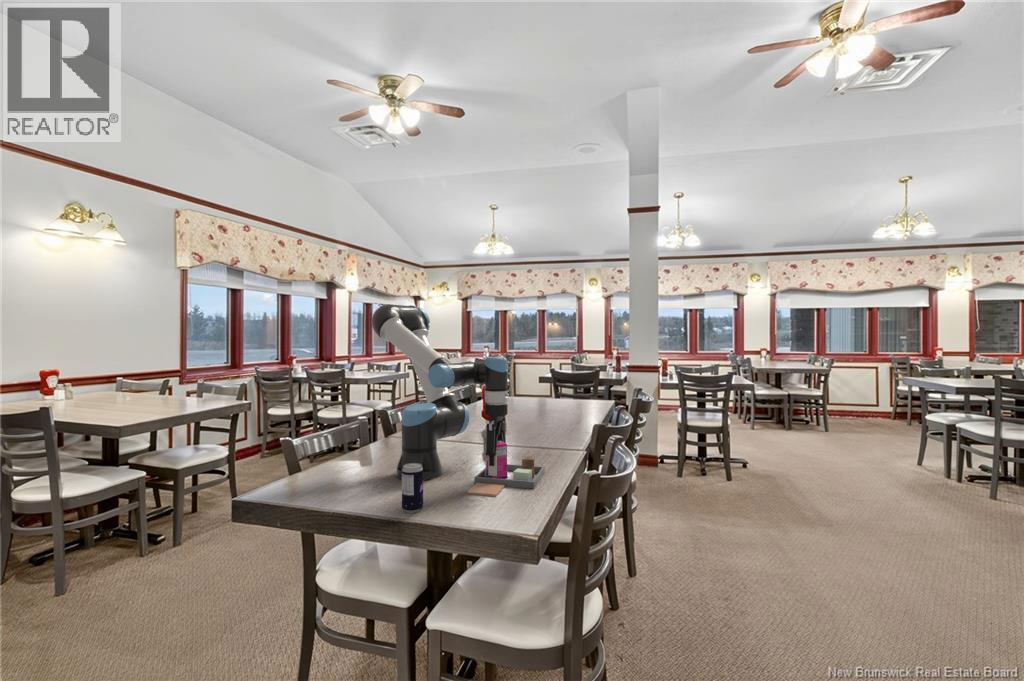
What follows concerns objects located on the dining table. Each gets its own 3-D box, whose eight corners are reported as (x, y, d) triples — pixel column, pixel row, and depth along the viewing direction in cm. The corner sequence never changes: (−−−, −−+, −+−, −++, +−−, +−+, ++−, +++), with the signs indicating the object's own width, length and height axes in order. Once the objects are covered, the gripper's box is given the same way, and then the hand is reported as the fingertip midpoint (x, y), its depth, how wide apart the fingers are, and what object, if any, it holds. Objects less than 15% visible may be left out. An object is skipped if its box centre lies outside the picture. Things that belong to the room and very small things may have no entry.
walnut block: (521, 477, 155) (521, 459, 155) (522, 473, 159) (522, 456, 159) (534, 477, 155) (534, 459, 155) (534, 474, 159) (534, 456, 159)
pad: (467, 493, 139) (467, 491, 139) (477, 484, 147) (477, 482, 147) (496, 496, 136) (496, 494, 136) (504, 486, 145) (504, 485, 145)
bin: (474, 483, 148) (474, 477, 148) (490, 468, 165) (490, 463, 165) (534, 488, 144) (534, 482, 144) (544, 472, 160) (544, 466, 160)
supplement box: (484, 475, 157) (484, 441, 157) (501, 473, 160) (501, 439, 160) (491, 480, 152) (491, 445, 152) (508, 478, 154) (508, 443, 154)
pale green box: (513, 484, 148) (513, 471, 148) (517, 480, 152) (517, 468, 152) (528, 485, 147) (528, 473, 147) (532, 482, 150) (532, 469, 150)
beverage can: (423, 512, 124) (423, 467, 124) (401, 514, 123) (401, 468, 123) (423, 505, 129) (423, 462, 129) (402, 506, 128) (401, 463, 128)
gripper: (498, 408, 145) (498, 481, 145) (514, 399, 165) (514, 464, 165) (475, 407, 146) (475, 479, 147) (494, 398, 167) (494, 462, 167)
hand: (496, 471), depth 156 cm, fingers closed on supplement box, 8 cm apart
